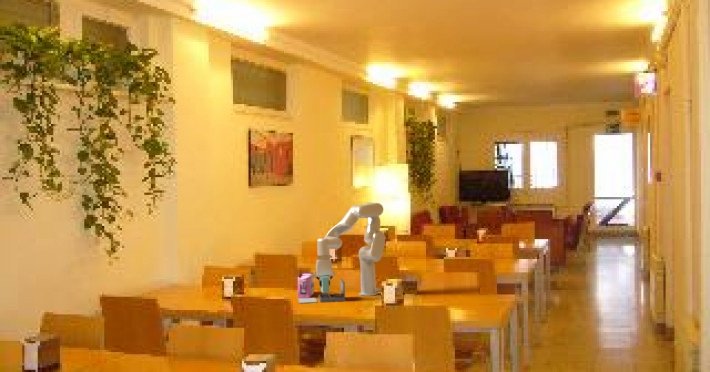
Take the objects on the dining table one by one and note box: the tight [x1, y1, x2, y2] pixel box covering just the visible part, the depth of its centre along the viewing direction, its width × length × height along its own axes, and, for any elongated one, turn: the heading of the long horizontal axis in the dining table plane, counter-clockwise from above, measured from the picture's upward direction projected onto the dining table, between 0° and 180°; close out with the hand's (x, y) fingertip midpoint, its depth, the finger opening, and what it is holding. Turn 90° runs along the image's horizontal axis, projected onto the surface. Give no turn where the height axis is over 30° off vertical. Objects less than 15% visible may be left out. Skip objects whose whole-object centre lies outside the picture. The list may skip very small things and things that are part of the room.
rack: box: [317, 278, 346, 303], centre depth 515 cm, size 15×15×12 cm
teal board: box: [320, 276, 330, 294], centre depth 514 cm, size 4×12×10 cm, turn 8°
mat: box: [297, 297, 318, 305], centre depth 513 cm, size 11×16×1 cm
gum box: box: [297, 272, 315, 299], centre depth 536 cm, size 24×8×14 cm, turn 175°
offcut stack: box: [332, 292, 343, 298], centre depth 515 cm, size 4×12×4 cm, turn 14°
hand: (324, 286), depth 514 cm, fingers closed on teal board, 4 cm apart
